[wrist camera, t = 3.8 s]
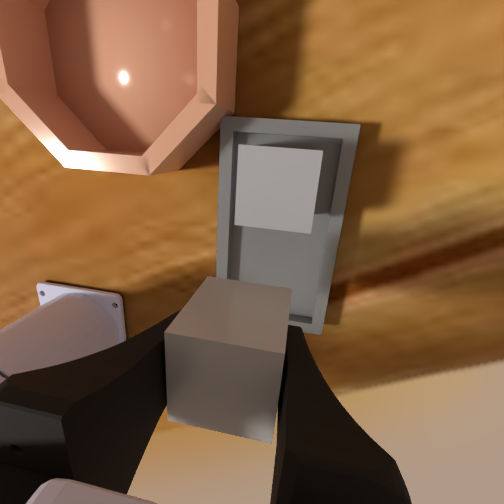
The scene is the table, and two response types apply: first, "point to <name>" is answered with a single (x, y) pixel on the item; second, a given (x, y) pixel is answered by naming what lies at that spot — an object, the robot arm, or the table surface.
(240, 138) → the tray
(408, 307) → the table surface
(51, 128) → the bowl
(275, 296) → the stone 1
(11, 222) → the table surface
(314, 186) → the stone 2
